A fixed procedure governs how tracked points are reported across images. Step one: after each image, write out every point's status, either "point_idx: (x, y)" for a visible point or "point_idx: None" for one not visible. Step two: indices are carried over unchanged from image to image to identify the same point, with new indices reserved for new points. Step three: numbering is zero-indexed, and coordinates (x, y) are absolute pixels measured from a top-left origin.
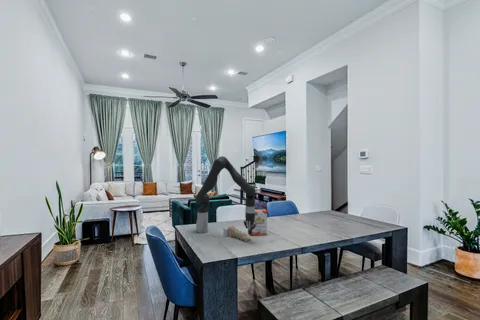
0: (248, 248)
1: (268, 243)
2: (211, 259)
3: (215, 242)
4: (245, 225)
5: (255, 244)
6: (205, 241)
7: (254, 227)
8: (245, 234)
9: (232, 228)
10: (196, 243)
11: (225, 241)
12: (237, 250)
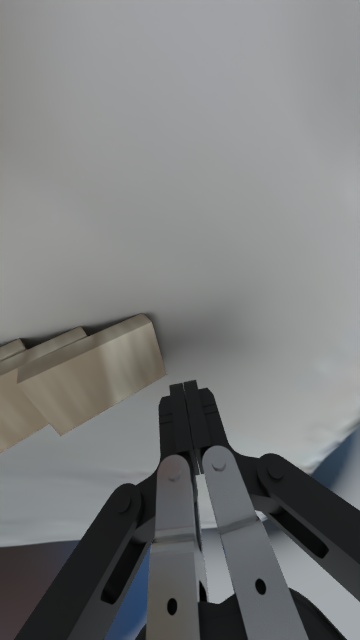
0: (282, 404)
1: (354, 200)
2: (256, 513)
3: (77, 489)
4: (109, 587)
5: (265, 334)
6: (38, 512)
7: (328, 503)
8: (70, 372)
9: None
10: (59, 531)
11: (80, 456)
12: (258, 449)
